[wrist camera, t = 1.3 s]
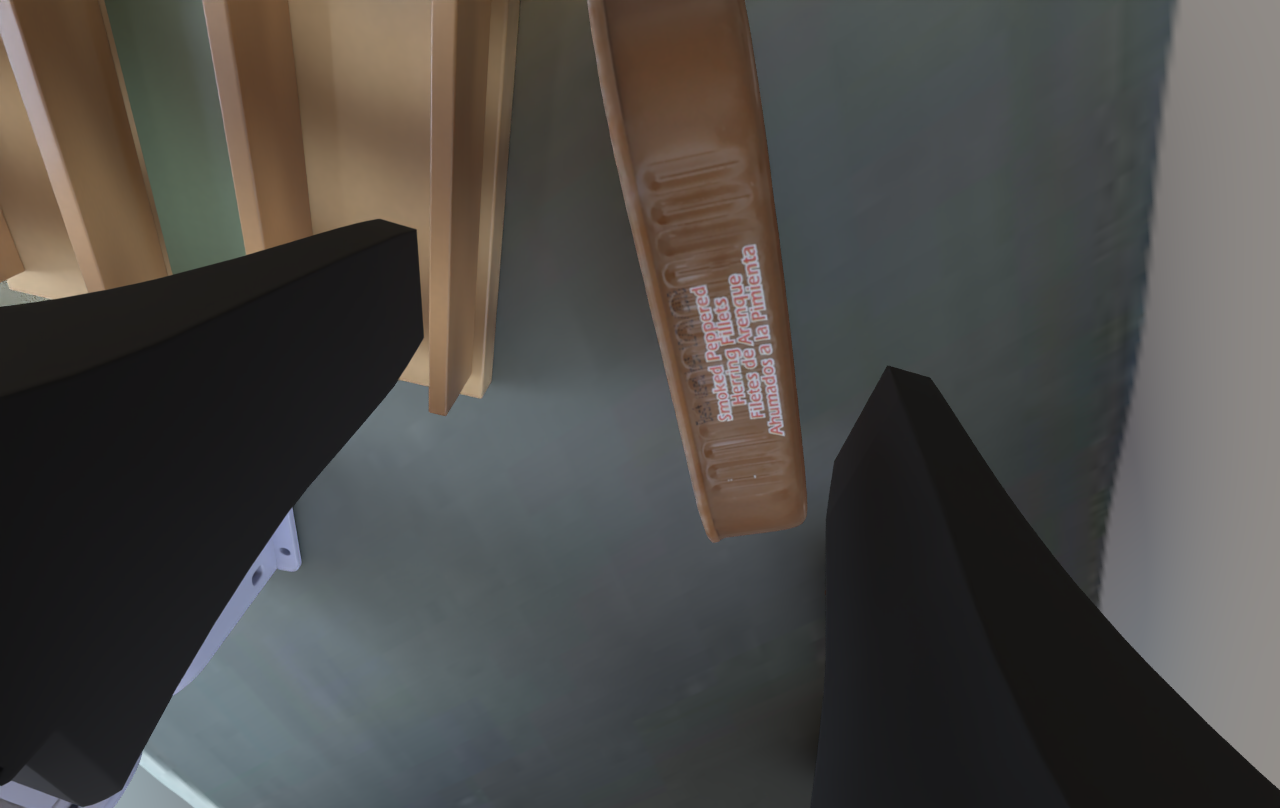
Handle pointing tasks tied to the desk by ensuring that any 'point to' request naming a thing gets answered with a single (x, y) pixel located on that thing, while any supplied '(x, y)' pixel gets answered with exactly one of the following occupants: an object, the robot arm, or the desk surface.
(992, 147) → the desk surface
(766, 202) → the tin
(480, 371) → the rack
